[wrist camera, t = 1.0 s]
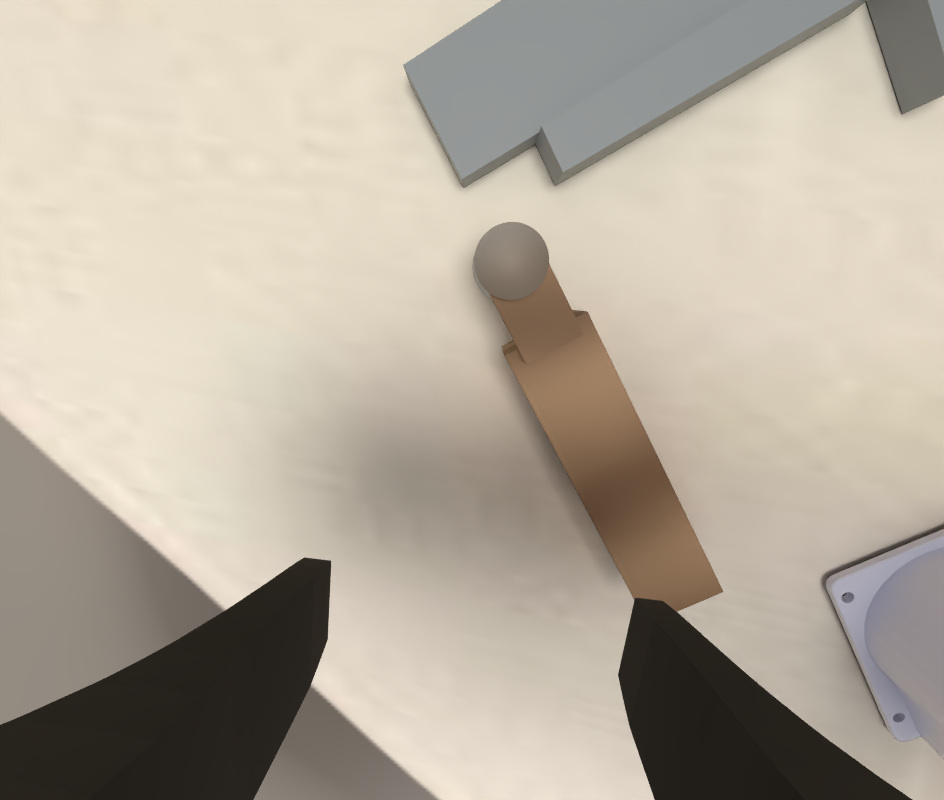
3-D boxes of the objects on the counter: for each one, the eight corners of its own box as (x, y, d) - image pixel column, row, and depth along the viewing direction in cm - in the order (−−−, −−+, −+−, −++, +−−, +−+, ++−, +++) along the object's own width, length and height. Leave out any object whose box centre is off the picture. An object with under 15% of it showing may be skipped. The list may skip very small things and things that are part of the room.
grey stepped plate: (937, 95, 16) (1017, 58, 13) (502, 331, 18) (504, 336, 15) (846, -202, 14) (920, -305, 12) (381, 100, 16) (362, 67, 14)
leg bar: (458, 263, 17) (448, 253, 13) (527, 223, 17) (540, 200, 13) (623, 575, 20) (657, 643, 16) (687, 547, 19) (738, 610, 15)
